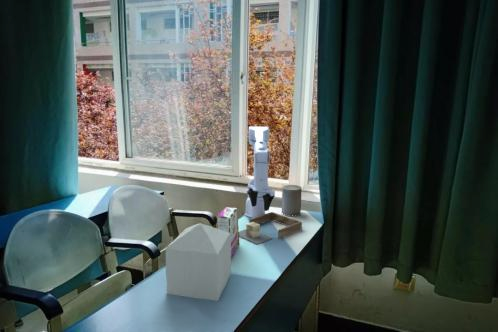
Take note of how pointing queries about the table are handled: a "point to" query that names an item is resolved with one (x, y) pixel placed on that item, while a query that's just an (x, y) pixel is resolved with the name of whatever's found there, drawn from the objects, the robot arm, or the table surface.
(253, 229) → the birch block
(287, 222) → the open wooden frame
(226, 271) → the decorative block
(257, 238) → the mat
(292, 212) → the pillar candle
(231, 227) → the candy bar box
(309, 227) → the table surface
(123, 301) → the table surface
